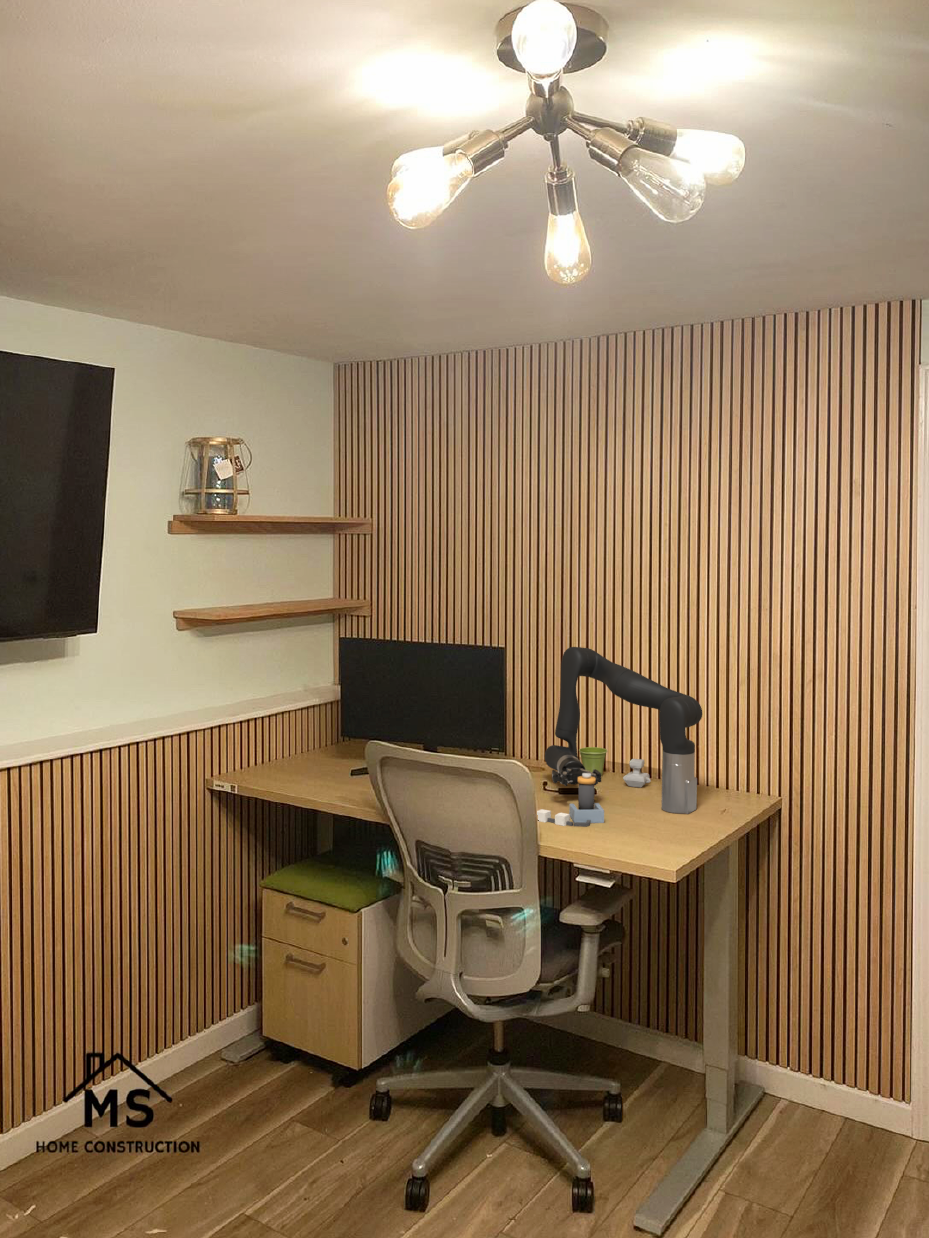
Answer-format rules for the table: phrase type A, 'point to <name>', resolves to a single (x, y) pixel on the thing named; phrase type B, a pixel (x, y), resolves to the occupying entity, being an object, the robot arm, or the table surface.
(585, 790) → the grey and orange bottle
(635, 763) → the stamp
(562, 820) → the routed cable
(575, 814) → the end holder
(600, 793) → the table surface
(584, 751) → the plant pot
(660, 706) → the robot arm
